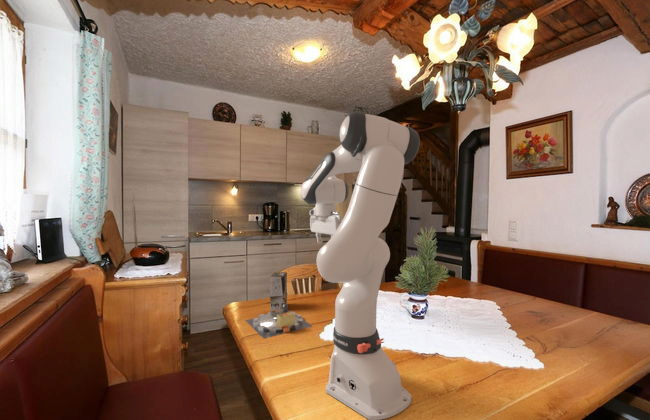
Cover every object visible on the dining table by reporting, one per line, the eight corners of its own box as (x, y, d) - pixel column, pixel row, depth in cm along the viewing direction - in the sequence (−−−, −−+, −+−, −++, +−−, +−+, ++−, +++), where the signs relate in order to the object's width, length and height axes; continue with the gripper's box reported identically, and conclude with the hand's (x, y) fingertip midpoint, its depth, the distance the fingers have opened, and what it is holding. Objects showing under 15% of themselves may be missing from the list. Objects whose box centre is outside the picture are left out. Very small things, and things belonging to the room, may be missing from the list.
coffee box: (284, 312, 133) (284, 276, 132) (269, 312, 133) (269, 276, 133) (287, 306, 142) (287, 272, 142) (273, 305, 142) (273, 271, 142)
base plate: (312, 328, 116) (312, 326, 116) (263, 341, 105) (263, 338, 105) (289, 312, 133) (289, 310, 133) (245, 322, 122) (245, 320, 122)
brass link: (294, 324, 113) (294, 314, 113) (279, 327, 110) (280, 316, 110) (290, 322, 116) (291, 311, 116) (276, 325, 112) (276, 314, 112)
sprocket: (310, 317, 125) (310, 304, 124) (289, 336, 106) (289, 321, 106) (269, 311, 131) (269, 299, 131) (242, 329, 113) (242, 314, 113)
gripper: (347, 211, 119) (347, 246, 119) (319, 211, 136) (319, 241, 136) (333, 212, 115) (333, 248, 115) (307, 211, 132) (307, 242, 133)
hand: (326, 244), depth 126 cm, fingers open, 8 cm apart
